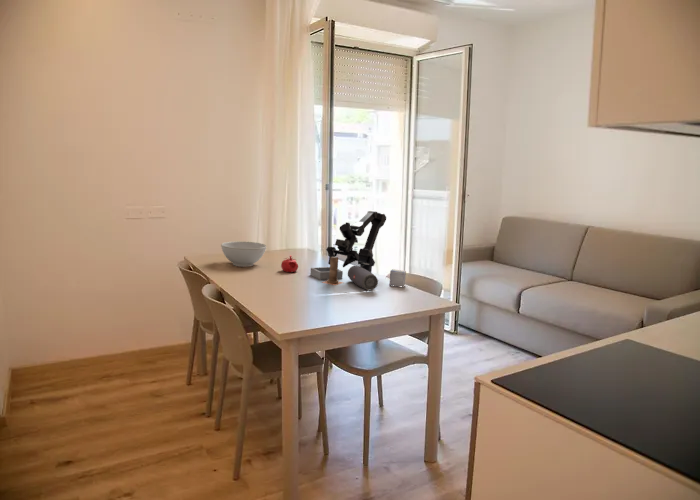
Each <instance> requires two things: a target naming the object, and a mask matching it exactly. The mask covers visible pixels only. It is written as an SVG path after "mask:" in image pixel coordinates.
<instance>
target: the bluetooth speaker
mask: <svg viewBox="0 0 700 500" xmlns="http://www.w3.org/2000/svg"><path fill="white" fill-rule="evenodd" d="M347 277H348V278H349V279H350V281H352V282H353V283H354V284H355V285H356V286H358V287H360V288H361V289H364V290H366V291H367V290H368V291H373V290H375V289H376V288H377V286H378V284H379V280H378V277H377V276H376V275H375V274H374V273H373V272H372V271H371V272H369V271H368V270H366V269H364V268H362V267H360V265H359V266H358V265H352V266H350V267H349V269H348V270H347Z"/></svg>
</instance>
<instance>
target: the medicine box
mask: <svg viewBox="0 0 700 500" xmlns="http://www.w3.org/2000/svg"><path fill="white" fill-rule="evenodd" d="M406 275H407V271H406V270H402V269H394V268H393V269H390V272H389V284H388V285H394V286H393V287H396V286H402V287H401V288H404V287H405V286H404V285H406ZM403 286H404V287H403Z"/></svg>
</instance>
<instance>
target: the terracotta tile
mask: <svg viewBox="0 0 700 500" xmlns="http://www.w3.org/2000/svg"><path fill="white" fill-rule="evenodd" d="M321 283H323V284H327V285H332V286H337V285H341V284H345V282H343V281H339V282H338V283H337V284H330V283H327V280H323V281H322V282H321Z"/></svg>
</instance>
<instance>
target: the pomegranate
mask: <svg viewBox="0 0 700 500" xmlns="http://www.w3.org/2000/svg"><path fill="white" fill-rule="evenodd" d="M280 267H281V270H282V271H284V272H286V273H295V272H297V271H298V268H299V265H298V263H297V259H296V258H293V257H292V255H289V257H286V258H284V259H283V260H282V261H281V265H280Z"/></svg>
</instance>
